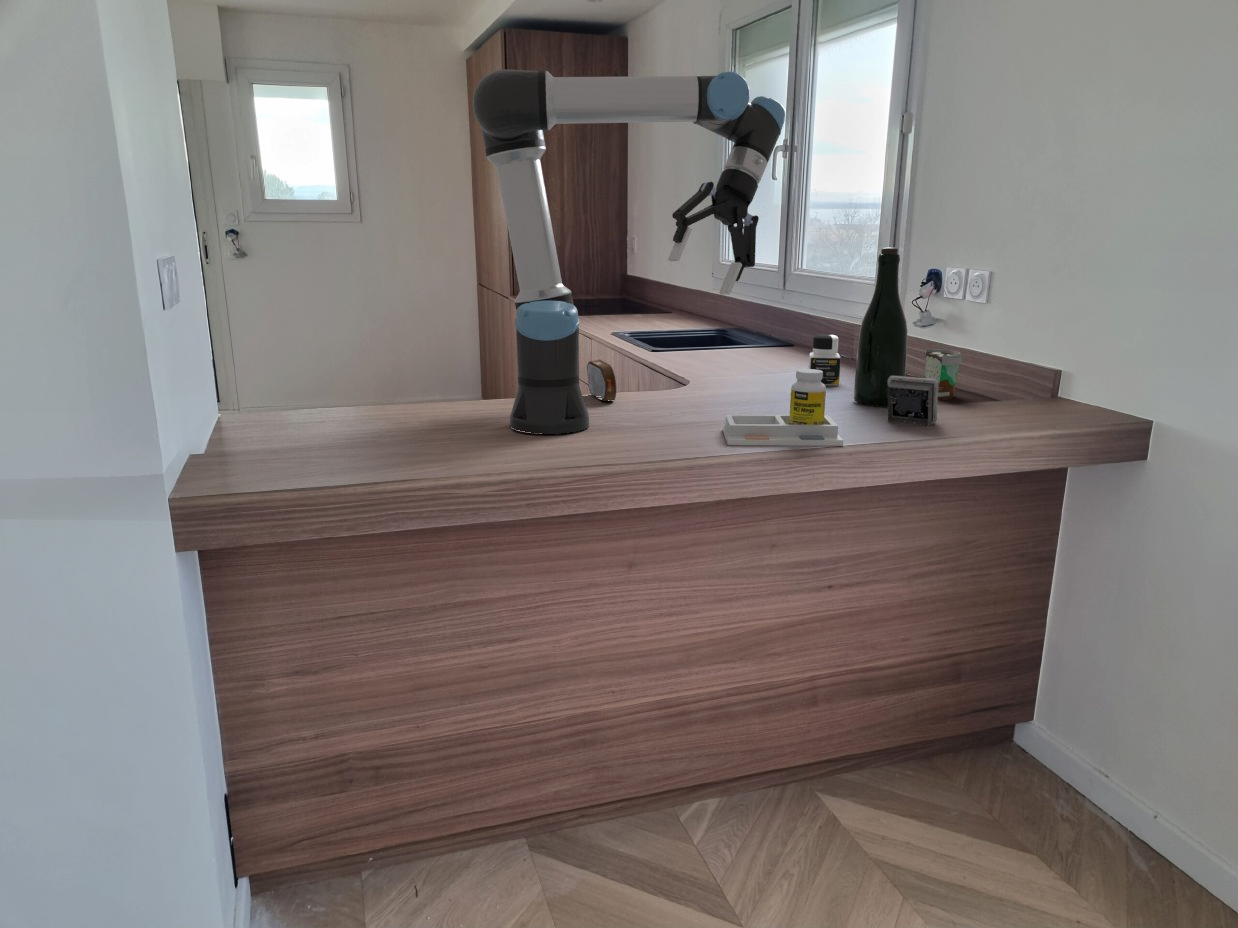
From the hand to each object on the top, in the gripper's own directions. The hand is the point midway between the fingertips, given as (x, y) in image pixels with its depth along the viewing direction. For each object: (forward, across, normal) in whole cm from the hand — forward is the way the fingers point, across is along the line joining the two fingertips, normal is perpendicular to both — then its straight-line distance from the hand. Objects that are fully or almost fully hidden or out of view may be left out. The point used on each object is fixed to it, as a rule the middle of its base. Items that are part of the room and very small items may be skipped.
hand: (699, 277), depth 163 cm
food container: (-6, +69, -7) cm, 70 cm away
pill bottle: (+21, +21, -21) cm, 36 cm away
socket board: (+24, +17, -19) cm, 35 cm away
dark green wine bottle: (+4, +52, -5) cm, 53 cm away
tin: (+25, +8, +32) cm, 41 cm away
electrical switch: (+10, +43, -23) cm, 50 cm away
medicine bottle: (-2, +59, +20) cm, 62 cm away
